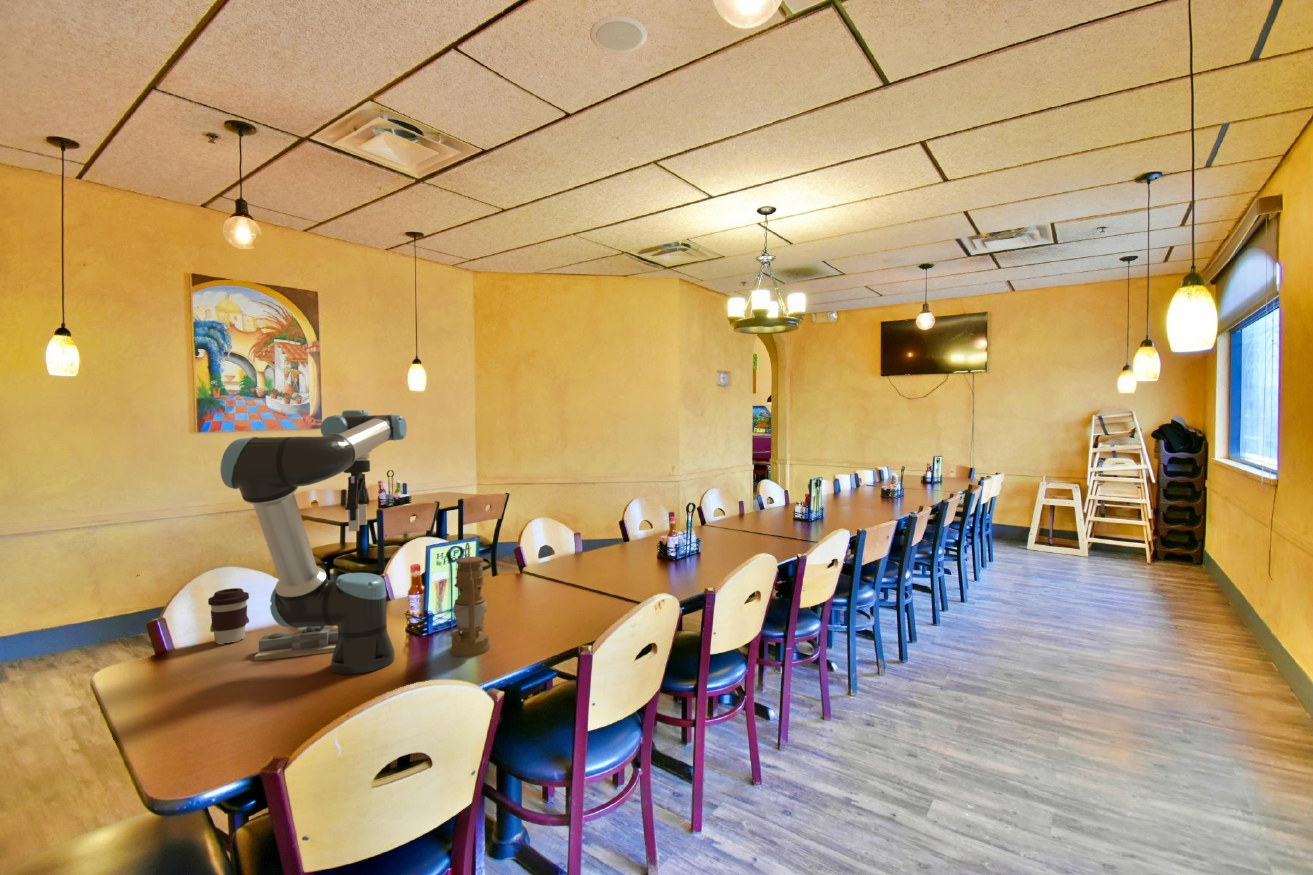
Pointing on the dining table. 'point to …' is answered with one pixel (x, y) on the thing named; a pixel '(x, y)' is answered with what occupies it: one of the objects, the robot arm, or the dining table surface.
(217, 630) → the coffee cup
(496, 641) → the dining table surface
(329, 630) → the chain bed
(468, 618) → the lantern
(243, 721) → the dining table surface
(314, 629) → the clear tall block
